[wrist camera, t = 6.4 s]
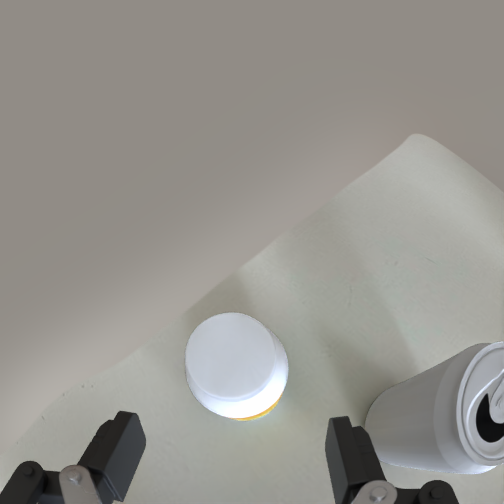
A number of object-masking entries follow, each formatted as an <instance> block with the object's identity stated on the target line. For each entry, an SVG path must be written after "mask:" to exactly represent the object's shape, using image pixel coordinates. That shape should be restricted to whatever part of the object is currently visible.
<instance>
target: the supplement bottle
mask: <svg viewBox="0 0 504 504" xmlns="http://www.w3.org/2000/svg"><path fill="white" fill-rule="evenodd" d="M185 363H186V364H185V373H186V379H187V382H188V385H189V388H190V390H191V392H192V393H193V395H194V396H195V398H196V399H197V400H198V401H199V402H200V403H201V404H202V405H203V406H204V407H206V408H207V409H209V410H210V411H212V412H214V413H216V414H218V415H221V416H224V417H227V418H231V419H234V420H239V421H251V420H255V419H258V418H261V417H263V416H265V415H266V414H268V413H269V412H270V411H272V410H273V409H274V407H275V406H276V405H277V404H278V402H279V400H280V398H281V396H282V393H283V390H284V388H285V385H286V382H287V377H288V359H287V355H286V352H285V349H284V347H283V345H282V343H281V342H280V340H279V339H278V338H277V337H276V335H275V334H274V333H273V332H271V331H270V330H269V329H268V328H266V327H265V326H264V325H263V324H262V323H261V322H259V321H258V320H257V319H255V318H253V317H251V316H249V315H246V314H242V313H236V312H227V313H221V314H217V315H214V316H212V317H209V318H208V319H206V320H204V321H203V322H202V323H200V324H199V325H198V326H197V327H196V328H195V330H194V331H193V332H192V334H191V336H190V337H189V339H188V342H187V345H186V350H185Z"/></svg>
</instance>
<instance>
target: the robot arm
mask: <svg viewBox="0 0 504 504" xmlns="http://www.w3.org/2000/svg"><path fill="white" fill-rule="evenodd" d="M145 446H146V438H145V434H144V432H143V429H142V426H141V423H140V420H139V417H138V415H137V414H136V413H131V412H125V411H119V412H118V413H117V415H116V417H115V418H114V420H108V421H107V422H105V423H104V424H103V425H101V426H100V428H99V429H98V431H97V433H96V436H94V437H93V439H92V442H90V444H89V446H88V447H87V449H86V450H85V452H84V454H83V455H82V457H81V459H80V460H79V462H78V464H77V465H70V466H67V467H65V468H64V469H63V470H62V471H61V472H57V471H45V470H43V468H42V467H41V466H40V465H39V464H38V463H37V462H34V461H26V462H23V463H21V464H20V465H19V466H18V467H17V469H16V470H15V472H14V473H13V475H12V476H11V478H10V480H9V481H8V483H7V484H6V486H5V487H4V489H3V491H2V492H1V494H0V504H112V503H113V500H116V501H120V502H123V501H124V498H125V496H126V493H127V491H128V488H129V486H130V483H131V481H132V479H133V476H134V474H135V471H136V469H137V466H138V464H139V462H140V459H141V457H142V454H143V452H144V450H145ZM325 452H326V458H327V463H328V468H329V473H330V478H331V483H332V488H333V493H334V498H335V503H336V504H459V503H458V500H457V498H456V496H455V493H454V491H453V489H452V487H451V486H450V485H449V484H448V483H447V482H444V481H441V480H434V481H430V482H428V483H426V484H425V485H423V486H422V488H421V489H400V488H397V487H394V486H393V485H392V484H391V483H389V482H387V480H386V479H385V476H384V474H383V471H382V468H381V465H380V463H379V460H378V457H377V455H376V452H375V449H374V447H373V445H372V441H371V439H370V436H369V433H367V432H366V431H365V430H364V429H363V428H362V427H361V426H357V427H352V425H351V422H350V419H349V417H348V416H343V417H335V418H330V419H329V423H328V430H327V436H326V442H325ZM37 502H38V503H37Z"/></svg>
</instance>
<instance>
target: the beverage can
mask: <svg viewBox="0 0 504 504" xmlns="http://www.w3.org/2000/svg"><path fill="white" fill-rule="evenodd" d="M365 431H366V432H367V433H369V436H370V439H371V441H372V445H373V447H374V449H375V452H376V455H377V457H378V459H379V460H381V461H383V462H385V463H387V464H391V465H397V466H402V467H408V468H415V469H422V470H429V471H438V472H448V473H460V474H479V473H483V472H486V471H489V470H490V469H492V468H494V467H496V466H498V465H501V464H504V342H495V343H481V344H476V345H473V346H471V347H469V348H467V349H465V350H464V351H462V352H460V353H458V354H457V355H455V356H453V357H451V358H449V359H448V360H446V361H444V362H442V363H440V364H438V365H436V366H434V367H433V368H431V369H429V370H427V371H425V372H423V373H421V374H419V375H416V376H414V377H412V378H410V379H408V380H406V381H404V382H402V383H399V384H397V385H395V386H393V387H390V388H389V389H387V390H386V391H384V392H383V393H382V394H381V395H379V396H378V397H377V399H376V400H375V401H374V402H373V404H372V406H371V407H370V409H369V412H368V414H367V417H366V421H365Z"/></svg>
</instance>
